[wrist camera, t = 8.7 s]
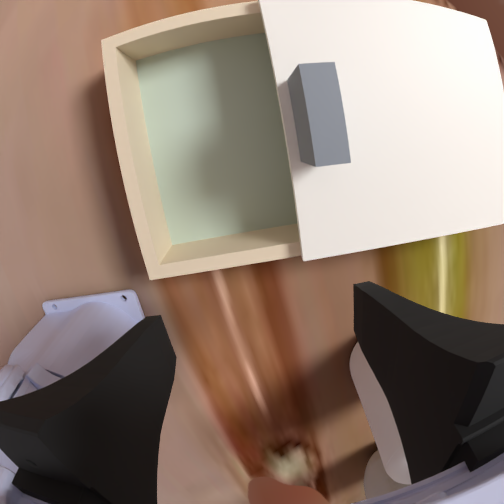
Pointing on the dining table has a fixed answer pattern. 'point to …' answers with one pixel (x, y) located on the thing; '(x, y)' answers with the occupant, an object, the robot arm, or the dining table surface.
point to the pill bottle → (379, 417)
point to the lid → (386, 121)
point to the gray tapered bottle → (378, 478)
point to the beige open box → (201, 141)
